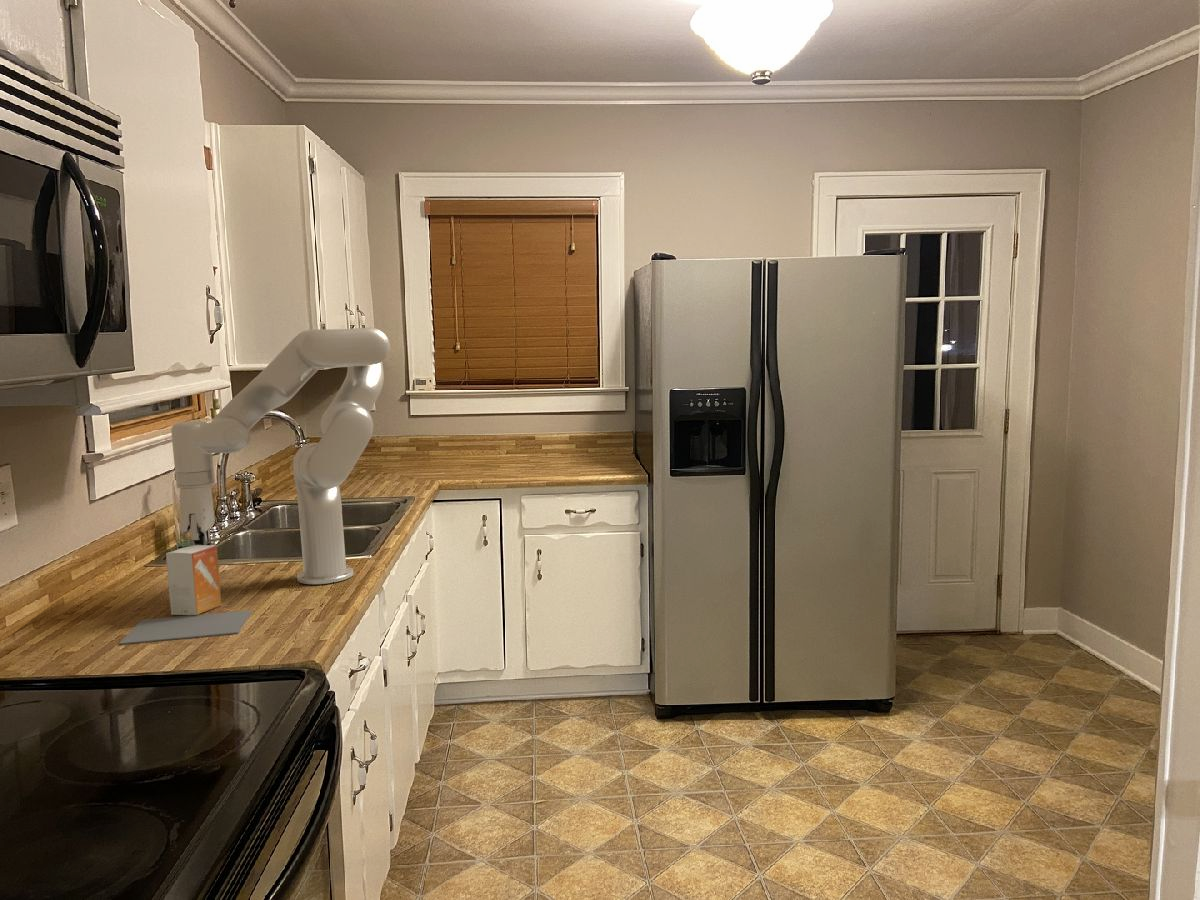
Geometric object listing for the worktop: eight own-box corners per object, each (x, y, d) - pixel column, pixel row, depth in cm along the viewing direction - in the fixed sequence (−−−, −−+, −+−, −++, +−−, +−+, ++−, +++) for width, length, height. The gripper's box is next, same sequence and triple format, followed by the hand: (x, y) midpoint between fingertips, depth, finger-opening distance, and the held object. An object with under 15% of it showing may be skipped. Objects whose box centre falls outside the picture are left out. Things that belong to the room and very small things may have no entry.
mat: (142, 621, 178) (141, 619, 178) (251, 611, 182) (251, 609, 182) (119, 644, 164) (118, 643, 164) (238, 633, 169) (238, 632, 168)
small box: (197, 616, 179) (191, 553, 178) (170, 615, 181) (164, 552, 179) (222, 605, 187) (217, 544, 186) (196, 604, 188) (191, 544, 187)
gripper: (185, 474, 196) (193, 555, 198) (166, 485, 181) (175, 572, 183) (221, 472, 197) (229, 552, 199) (205, 483, 182) (213, 569, 185)
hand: (203, 562), depth 191 cm, fingers closed
